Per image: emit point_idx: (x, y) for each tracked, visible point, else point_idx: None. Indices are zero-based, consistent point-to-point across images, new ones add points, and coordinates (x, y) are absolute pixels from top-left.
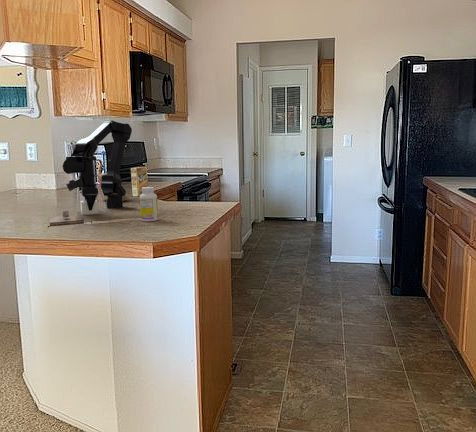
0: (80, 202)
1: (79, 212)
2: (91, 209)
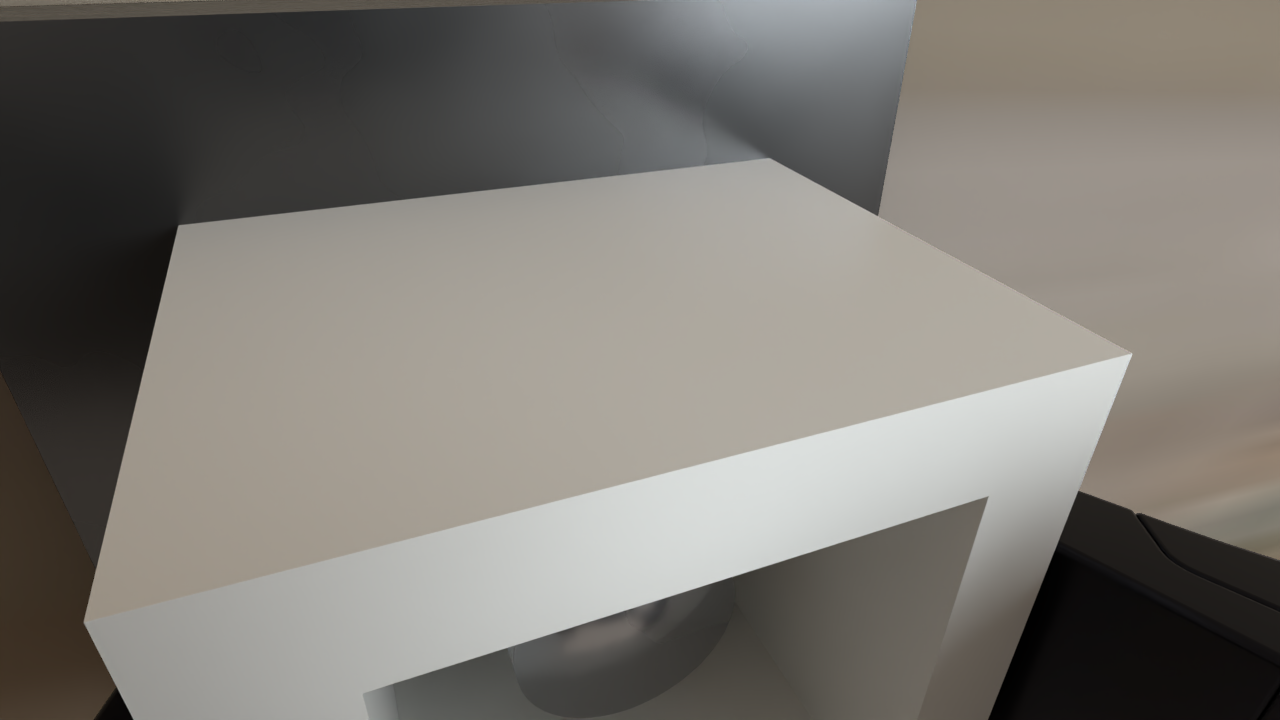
0: (1028, 315)
1: (799, 99)
2: None
